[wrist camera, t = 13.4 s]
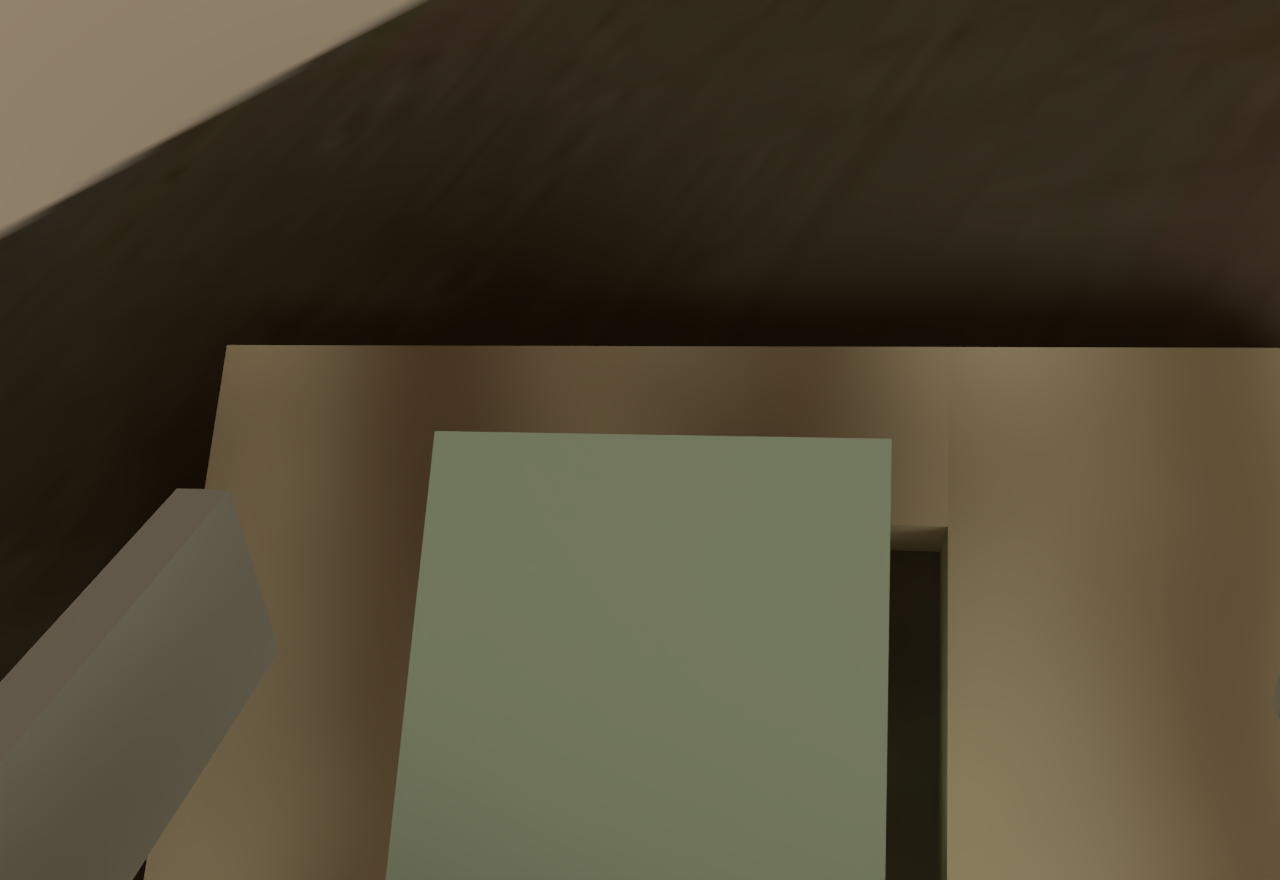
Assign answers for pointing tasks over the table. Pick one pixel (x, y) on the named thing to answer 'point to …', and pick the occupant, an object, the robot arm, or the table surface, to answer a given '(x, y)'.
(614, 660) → the peg
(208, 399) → the table surface
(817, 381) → the block with square hole
